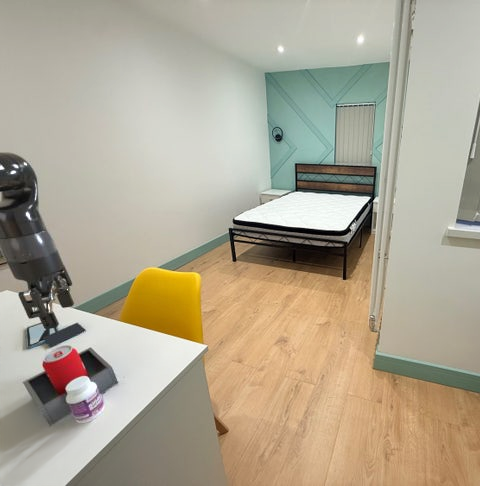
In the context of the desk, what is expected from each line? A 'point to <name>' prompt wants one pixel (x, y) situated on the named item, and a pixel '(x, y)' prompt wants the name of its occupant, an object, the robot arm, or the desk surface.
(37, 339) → the smartphone
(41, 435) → the desk surface
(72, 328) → the mat
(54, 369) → the beverage can
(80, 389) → the pill bottle
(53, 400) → the basin
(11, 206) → the robot arm
